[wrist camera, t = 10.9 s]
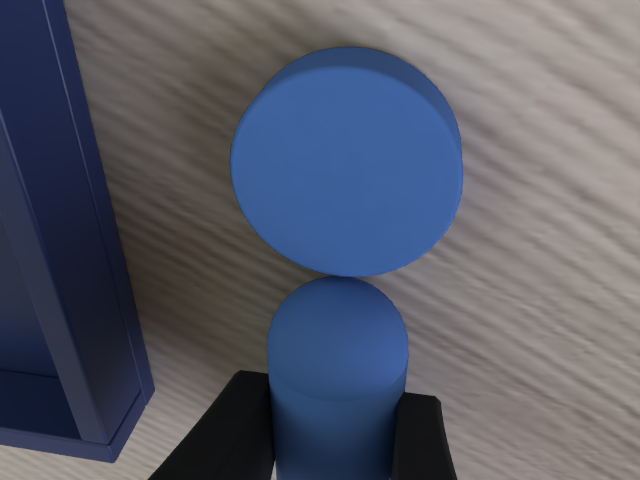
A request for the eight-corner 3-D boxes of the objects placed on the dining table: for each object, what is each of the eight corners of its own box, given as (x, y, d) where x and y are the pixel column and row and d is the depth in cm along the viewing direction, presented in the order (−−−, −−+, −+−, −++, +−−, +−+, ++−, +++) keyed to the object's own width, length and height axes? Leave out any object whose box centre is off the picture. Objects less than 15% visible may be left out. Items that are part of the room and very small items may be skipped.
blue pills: (238, 40, 8) (174, 95, 6) (476, 50, 8) (486, 113, 6) (272, 450, 14) (243, 550, 12) (416, 472, 13) (411, 580, 11)
